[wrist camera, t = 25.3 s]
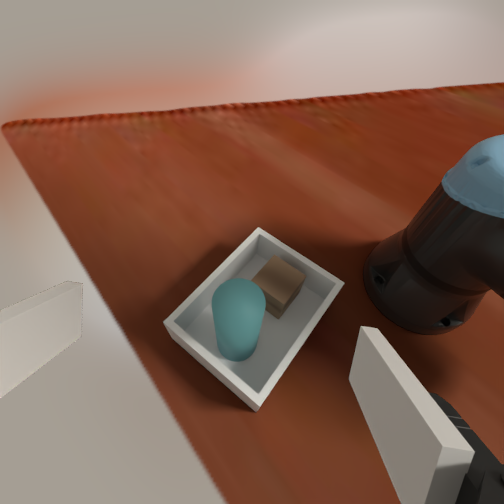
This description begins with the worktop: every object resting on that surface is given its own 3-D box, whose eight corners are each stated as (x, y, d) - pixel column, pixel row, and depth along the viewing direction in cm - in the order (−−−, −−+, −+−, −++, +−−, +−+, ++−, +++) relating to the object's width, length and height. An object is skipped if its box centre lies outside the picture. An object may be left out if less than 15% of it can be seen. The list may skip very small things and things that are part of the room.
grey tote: (255, 250, 46) (258, 227, 41) (331, 301, 42) (344, 282, 37) (171, 338, 38) (162, 322, 33) (256, 412, 34) (259, 406, 29)
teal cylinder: (234, 314, 39) (235, 269, 29) (264, 338, 38) (276, 298, 28) (208, 344, 37) (199, 305, 27) (240, 370, 36) (242, 340, 26)
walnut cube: (270, 273, 43) (274, 254, 39) (299, 293, 42) (306, 275, 38) (248, 297, 41) (250, 280, 37) (278, 319, 39) (283, 304, 35)
